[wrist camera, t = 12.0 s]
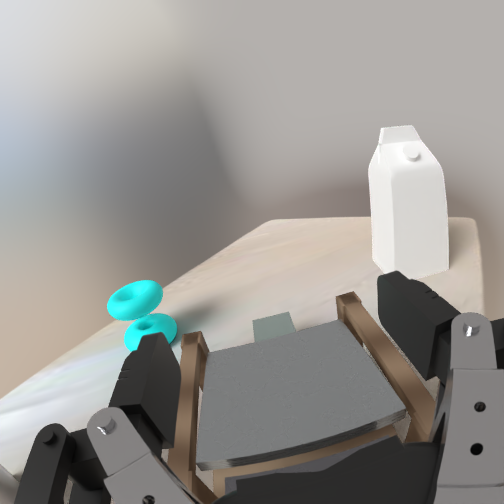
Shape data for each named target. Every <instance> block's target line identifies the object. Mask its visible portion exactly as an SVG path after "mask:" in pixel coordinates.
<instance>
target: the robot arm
mask: <svg viewBox="0 0 504 504" xmlns="http://www.w3.org/2000/svg"><path fill="white" fill-rule="evenodd" d="M377 289H378V315H379V319H380V322H381V324H382V326H383V327H384V328H385V330H386V331H387V332H388V333H389V335H390V336H391V337H392V338H393V340H394V341H395V342H396V343H397V345H398V346H399V347H400V348H401V350H402V351H403V352H404V354H405V355H406V356H407V357H408V359H409V360H410V361H411V362H412V364H413V365H414V366H415V368H416V369H417V370H418V372H419V373H420V374H421V376H422V377H423V378H424V379H425V381H427V380H429V379H431V378H433V377H435V376H437V377H438V378H439V379H440V380H439V384H438V391H437V398H436V405H435V411H434V417H433V422H432V427H431V431H430V435H429V438H428V441H427V442H424V441H423V442H406V443H401V441H400V439H399V438H398V436H397V435H394V436H392V437H390V438H387V439H385V440H382V441H380V442H377V443H375V444H372V445H370V446H367V447H365V448H362V449H359V450H358V451H356V452H355V453H353V454H351V455H350V456H348V457H346V458H345V459H343V460H341V461H339V462H338V463H336V464H334V465H332V466H330V467H329V468H327V469H325V470H322V471H317V472H298V473H273V474H268V475H263V476H257V477H251V478H245V479H238V480H236V487H237V490H235V491H232V492H230V493H228V494H226V495H224V496H222V497H220V498H218V499H217V500H215V501H214V502H212V503H211V504H504V318H502V319H498V320H494V321H489V320H488V319H487V318H486V317H484V316H483V315H481V314H478V313H472V312H468V313H463V314H461V313H460V312H459V311H458V310H456V309H455V308H454V307H453V306H452V305H450V304H449V303H448V302H447V301H446V300H444V299H443V298H442V297H441V296H440V297H439V295H438V294H437V293H436V292H434V291H432V289H431V288H429V287H428V286H427V285H426V284H424V283H422V282H420V281H417V280H414V279H410V280H409V279H408V278H407V277H406V276H404V275H403V274H402V273H401V272H399V271H397V270H396V271H393V272H390V273H387V274H384V275H380V276H379V277H378V279H377ZM118 379H119V380H117V383H116V386H115V388H114V391H113V394H112V397H111V400H110V403H109V406H108V408H104V409H102V410H100V411H98V412H97V413H95V414H94V415H93V416H92V417H91V419H90V420H89V422H88V425H87V428H85V429H82V430H78V431H75V432H71V433H69V432H68V431H67V430H66V429H65V428H64V427H63V426H62V425H61V424H57V423H54V424H50V425H47V426H45V427H44V428H43V429H42V430H40V432H39V433H38V434H37V436H36V438H35V441H34V443H33V446H32V449H31V451H30V454H29V457H28V460H27V463H26V466H25V469H24V472H23V475H22V478H21V481H20V483H19V482H18V481H17V480H16V479H15V478H14V477H13V476H12V474H11V473H10V472H8V471H7V470H6V469H5V468H4V467H3V466H2V465H1V464H0V504H64V500H63V497H64V492H65V487H66V483H67V479H69V480H71V481H72V482H73V486H72V491H71V495H70V500H69V504H110V503H111V497H112V498H113V500H114V502H115V504H203V503H202V502H201V501H200V500H199V499H198V498H197V497H196V496H195V495H194V494H193V493H192V492H191V491H190V490H189V489H188V488H187V486H186V485H185V484H184V483H183V482H182V481H181V480H180V479H179V477H178V476H177V475H176V474H175V473H174V472H173V470H172V469H171V468H170V467H169V466H168V464H167V463H166V462H165V461H164V460H163V459H162V457H161V453H162V449H170V448H174V441H175V431H176V421H177V412H178V403H179V395H180V387H181V370H180V366H179V363H178V361H177V359H176V357H175V355H174V353H173V351H172V349H171V347H170V345H169V343H168V341H167V338H166V336H165V335H164V333H163V332H158V333H153V334H147V335H143V336H142V337H141V340H140V342H139V345H138V348H137V350H134V351H132V352H131V353H130V355H129V356H128V357H127V358H126V359H125V361H124V364H123V366H122V369H121V372H120V374H119V377H118Z"/></svg>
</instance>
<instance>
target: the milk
mask: <svg viewBox="0 0 504 504" xmlns="http://www.w3.org/2000/svg"><path fill="white" fill-rule="evenodd" d="M368 176H369V188H370V202H371V220H372V253H373V260H374V262H375V263H376V264H377V265H378V266H379V268H380V269H381V270H382V271H383V272H384V274H387V273H390V272H393V271H396V270H397V271H399V272H401V273H402V274H403V275H404V276H406V277H407V278H408V279H409V280H410V279H414V280H415V279H419V278H422V277H426V276H429V275H433V274H436V273H440V272H443V271H446V270H449V235H448V216H447V202H446V191H445V182H444V175H443V170H442V168H441V166H440V164H439V162H438V161H437V160H436V158H435V157H434V156H433V154H432V153H431V152H430V150H429V149H428V148H427V146H426V145H425V144H424V143H423V142H422V141H421V139H420V137H419V135H418V133H417V132H416V130H415V128H414V126H413V125H407V126H396V127H386V128H381V131H380V137H379V145H378V146H377V148H376V151H375V153H374V155H373V158H372V160H371V162H370V165H369V169H368Z"/></svg>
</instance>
